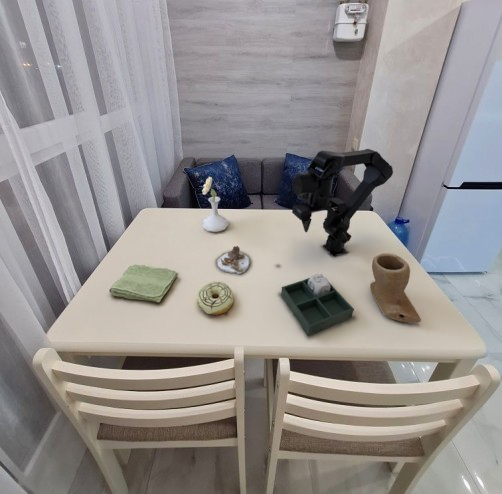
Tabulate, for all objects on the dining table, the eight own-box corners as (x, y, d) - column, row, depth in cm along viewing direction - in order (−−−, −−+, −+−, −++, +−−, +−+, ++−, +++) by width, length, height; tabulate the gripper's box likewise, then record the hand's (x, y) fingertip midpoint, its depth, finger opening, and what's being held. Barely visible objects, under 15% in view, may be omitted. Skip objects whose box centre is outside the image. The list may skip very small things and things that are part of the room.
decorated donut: (207, 323, 72) (206, 314, 71) (192, 298, 80) (191, 288, 79) (239, 306, 78) (239, 297, 76) (222, 283, 86) (221, 275, 84)
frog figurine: (222, 249, 102) (222, 241, 100) (252, 254, 99) (252, 246, 98) (212, 270, 91) (211, 261, 90) (246, 275, 89) (246, 266, 88)
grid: (320, 281, 87) (321, 274, 86) (351, 317, 75) (354, 309, 73) (281, 295, 82) (281, 286, 80) (308, 335, 69) (309, 327, 68)
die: (329, 295, 81) (331, 283, 79) (315, 300, 79) (317, 287, 77) (319, 284, 85) (321, 272, 83) (306, 288, 84) (308, 276, 81)
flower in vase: (207, 219, 122) (203, 168, 111) (231, 221, 120) (229, 170, 110) (198, 235, 110) (193, 180, 99) (224, 237, 109) (222, 182, 98)
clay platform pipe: (359, 283, 87) (368, 246, 80) (396, 285, 86) (409, 248, 80) (376, 323, 73) (388, 283, 67) (420, 326, 72) (437, 286, 66)
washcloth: (161, 305, 78) (159, 297, 76) (107, 297, 80) (105, 289, 79) (180, 274, 89) (179, 267, 88) (132, 267, 92) (130, 260, 91)
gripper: (329, 177, 97) (324, 213, 104) (285, 184, 91) (282, 222, 97) (350, 189, 88) (343, 228, 95) (303, 198, 81) (298, 239, 88)
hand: (316, 229), depth 94 cm, fingers open, 9 cm apart
